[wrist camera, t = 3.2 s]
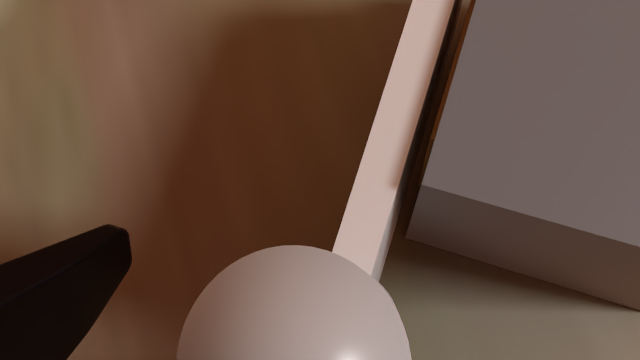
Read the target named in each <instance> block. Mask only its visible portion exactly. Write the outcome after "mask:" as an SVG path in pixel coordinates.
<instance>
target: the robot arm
mask: <svg viewBox="0 0 640 360" xmlns="http://www.w3.org/2000/svg"><path fill="white" fill-rule="evenodd" d="M131 262H132V255H131V247H130V240H129V234H128V232H127V231H126V230H125V229H123V228H120V227H117V226H114V225H110V224H107V225H103V226H101V227H98V228H95V229H93V230H90V231H87V232H85V233H82V234H80V235H77V236H74V237H72V238H69V239H66V240H64V241H61V242H59V243H56V244H53V245H51V246H48V247H45V248H43V249H40V250H37V251H35V252H32V253H30V254H27V255H24V256H22V257H19V258H16V259H14V260H11V261H9V262H6V263H3V264H1V265H0V360H67V358H68V357H69V356H70V355H71V353H72V352H73V351H74V350H75V348H76V347H77V346H78V345H79V343H80V342H81V341H82V339H83V338H84V337H85V336H86V334H87V333H88V332H89V330H90V329H91V327H92V326H93V324H94V323H95V321H96V320H97V318H98V317H99V315H100V314H101V312H102V310H103V309H104V307H105V306H106V304H107V303H108V301H109V300H110V298H111V297H112V295H113V293H114V292H115V290H116V289H117V287H118V286H119V284H120V283H121V281H122V279H123V278H124V276H125V275H126V273H127V272H128V270H129V268H130V266H131Z"/></svg>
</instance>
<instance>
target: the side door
mask: <svg viewBox="0 0 640 360" xmlns="http://www.w3.org/2000/svg"><path fill="white" fill-rule="evenodd" d="M461 3H462V0H413V1H412V4H411V7H410V10H409V13H408V16H407V20H406V23H405V26H404V29H403V32H402V35H401V38H400V41H399V45H398V48H397V51H396V54H395V57H394V60H393V63H392V66H391V70H390V73H389V76H388V79H387V82H386V85H385V88H384V91H383V94H382V98H381V101H380V104H379V107H378V110H377V113H376V116H375V119H374V123H373V126H372V129H371V132H370V135H369V138H368V141H367V144H366V148H365V151H364V154H363V157H362V160H361V163H360V166H359V169H358V173H357V176H356V179H355V182H354V185H353V188H352V191H351V194H350V197H349V201H348V204H347V207H346V210H345V213H344V216H343V219H342V222H341V226H340V229H339V232H338V235H337V238H336V241H335V244H334V247H333V251H332V252H330V251H327V250H323V249H319V248H315V247H310V246H301V245H283V246H277V247H270V248H266V249H263V250H260V251H256V252H253V253H251V254H249V255H247V256H244V257H242V258H240V259H239V260H237V261H235V262H234V263H232V264H231V265H229V266H228V267H226V268H225V269H224V270H223V271H221V272H220V273H219V274H218V275H217V276H216V277H215V278H214V279H213V280H212V281H211V282H210V283H209V284H208V285H207V286H206V287H205V289H204V290H203V291H202V293H201V294H200V295H199V296H198V298H197V300H196V301H195V303H194V305H193V306H192V308H191V310H190V312H189V314H188V316H187V319H186V321H185V323H184V326H183V329H182V333H181V336H180V339H179V344H178V350H177V356H176V360H412V359H411V353H410V347H409V342H408V338H407V335H406V332H405V329H404V325H403V323H402V321H401V318H400V316H399V313H398V311H397V309H396V306H395V304H394V302H393V299H392V297H391V295H390V294H389V292H388V291H387V290H386V288H385V287H384V286H382V285H381V284H380V283H379V280H380V277H381V274H382V270H383V267H384V264H385V261H386V257H387V254H388V251H389V247H390V244H391V241H392V237H393V234H394V231H395V227H396V224H397V221H398V217H399V214H400V211H401V207H402V204H403V201H404V197H405V194H406V191H407V187H408V184H409V181H410V177H411V174H412V171H413V167H414V164H415V161H416V157H417V154H418V151H419V147H420V144H421V141H422V137H423V134H424V131H425V127H426V124H427V121H428V117H429V114H430V111H431V107H432V104H433V101H434V98H435V94H436V91H437V88H438V84H439V81H440V78H441V74H442V71H443V68H444V64H445V61H446V58H447V54H448V51H449V48H450V44H451V41H452V38H453V34H454V31H455V27H456V23H457V19H458V15H459V11H460V7H461Z"/></svg>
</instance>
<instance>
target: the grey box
mask: <svg viewBox="0 0 640 360" xmlns="http://www.w3.org/2000/svg"><path fill="white" fill-rule="evenodd" d="M418 186H420V189H419V192H418V196H417V199H416V203H415V206H414V209H413V213H412V216H411V219H410V223H409V226H408V230H407V233H406V236H405V238H407V239H410V240H413V241H417V242H420V243H423V244H426V245H430V246H433V247H436V248H439V249H442V250H446V251H449V252H452V253H455V254H459V255H462V256H465V257H468V258H472V259H475V260H478V261H481V262H484V263H488V264H491V265H494V266H497V267H501V268H504V269H507V270H510V271H514V272H517V273H520V274H523V275H526V276H530V277H533V278H536V279H539V280H543V281H546V282H549V283H552V284H556V285H559V286H562V287H565V288H568V289H572V290H575V291H578V292H581V293H585V294H588V295H591V296H594V297H597V298H601V299H604V300H607V301H610V302H614V303H617V304H620V305H623V306H627V307H630V308H633V309H636V310H639V311H640V0H471V3H470V6H469V9H468V13H467V16H466V19H465V23H464V26H463V30H462V33H461V36H460V40H459V43H458V46H457V50H456V53H455V56H454V60H453V63H452V67H451V70H450V73H449V77H448V80H447V83H446V87H445V90H444V93H443V97H442V100H441V103H440V107H439V110H438V114H437V117H436V120H435V124H434V127H433V130H432V134H431V137H430V141H429V144H428V148H427V152H426V155H425V159H424V163H423V166H422V170H421V174H420V177H419V181H418Z"/></svg>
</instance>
